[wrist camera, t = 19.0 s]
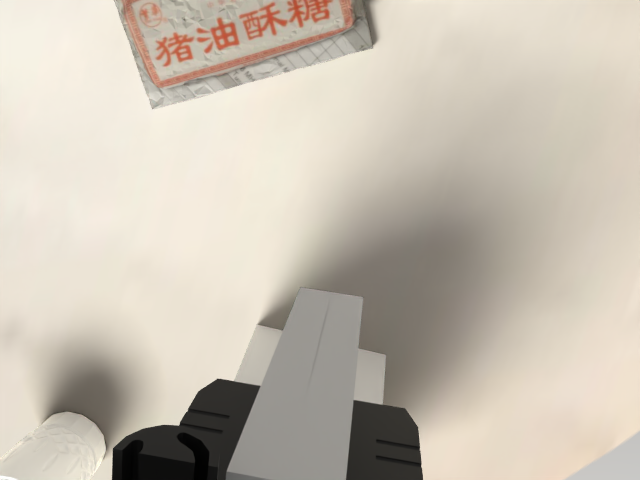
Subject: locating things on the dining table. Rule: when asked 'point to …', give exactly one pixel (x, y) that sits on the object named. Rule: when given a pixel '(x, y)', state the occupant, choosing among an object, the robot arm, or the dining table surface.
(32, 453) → the white cup
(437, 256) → the dining table surface
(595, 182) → the dining table surface
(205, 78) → the packaged product
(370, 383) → the milk
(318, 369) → the robot arm
